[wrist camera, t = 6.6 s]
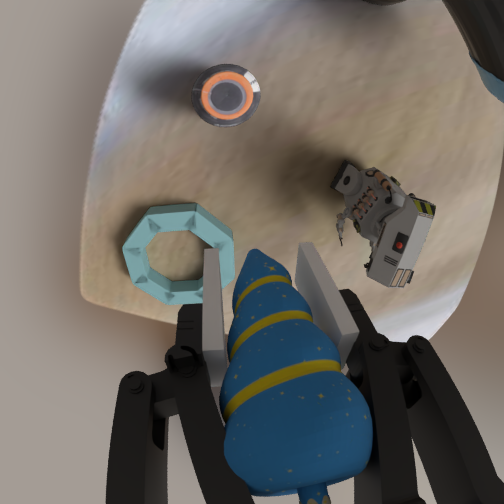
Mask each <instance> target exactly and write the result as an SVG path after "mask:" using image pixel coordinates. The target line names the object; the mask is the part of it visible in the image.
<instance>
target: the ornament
mask: <svg viewBox="0 0 504 504" xmlns="http://www.w3.org/2000/svg"><path fill="white" fill-rule="evenodd" d="M232 309H233V314H234V319H233V321H232V325H231V328H230V331H229V335H228V343H227V352H228V359H229V362H230V365H229V367H228V369H227V371H226V374H225V376H224V379H223V382H222V387H221V391H220V396H219V405H220V411H221V414H222V417H223V420H224V422H225V427H224V429H225V431H226V437H225V441H224V455H225V458H226V460H227V462H228V465H229V466H230V468H231V469H232V470H233V471H234V473H235V474H236V475H238V476H239V477H240V478H242V479H243V480H244V481H245V482H246V485H247V487H248V489H249V492H250V494H251V495H253V496H265V497H266V496H267V497H268V496H281V495H289V494H296V493H298V495H299V500H300V501H299V504H331V500H330V497H329V495H328V491H327V486H329V485H332V484H335V483H338V482H341V481H344V480H347V479H349V478H352V477H354V476H356V475H358V474H360V473H361V472H362V471H363V470H364V469H365V468H366V466H367V464H368V462H369V460H370V455H371V451H372V442H373V427H372V418H371V414H370V410H369V407H368V405H367V402H366V400H365V398H364V396H363V395H362V394H361V392H360V391H359V390H358V388H357V387H356V386H355V385H354V384H353V383H352V382H351V381H350V380H349V379H348V378H347V377H346V376H345V375H344V374H343V373H342V372H341V359H340V353H339V351H338V349H337V347H336V346H335V344H334V343H333V341H332V340H331V339H330V338H329V337H328V336H327V335H326V334H325V333H324V332H323V331H322V330H321V329H320V328H318V327H317V326H316V325H315V324H314V323H313V316H312V312H311V309H310V306H309V305H308V303H307V302H306V300H305V299H304V297H303V296H302V295H301V294H300V293H299V292H298V291H297V290H296V289H295V288H294V287H292V280H291V276H290V274H289V272H288V271H287V270H286V269H285V267H284V266H282V265H281V264H280V263H278V262H277V261H275V260H274V259H272V258H270V257H269V256H267V255H265V254H264V253H262V252H261V251H260V250H258V249H252V250H250V251H249V253H248V254H247V257H246V260H245V262H244V265H243V267H242V269H241V272H240V274H239V276H238V279H237V282H236V285H235V288H234V292H233V299H232Z"/></svg>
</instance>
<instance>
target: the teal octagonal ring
mask: <svg viewBox="0 0 504 504" xmlns="http://www.w3.org/2000/svg"><path fill="white" fill-rule="evenodd" d="M180 230H190V231H192V232H193V233H194V234H196V235H197V236H198V237H200V238H201V239H202V240H204V241H205V242H207V243H208V244H209V245H211V246H212V247H213V248H219V261H220V273H221V284H222V289H223V288H224V287H225V286H226V285H228V284H229V283H230V282H231V281H232V280H233V279H234V277H235V270H234V247H233V235H232V231H231V229H229V228H228V227H227V226H226V225H224V224H223V223H222V222H221V221H219V220H218V219H217V218H215V217H214V216H213V215H212V214H210V213H209V212H208V211H206V210H205V209H204V208H203V207H201V206H200V205H199V204H198V203H197V204H196V203H188V204H176V205H165V206H155V207H151V208H149V209H148V210H147V212H146V213H145V214H144V216H143V217H142V218H141V220H140V221H139V222H138V224H137V225H136V226H135V228H134V229H133V230H132V232H131V233H130V234H129V236H128V237H127V239H126V241H125V243H124V245H123V247H122V250H123V254H124V257H125V260H126V264H127V267H128V270H129V274H130V277H131V280H132V283H133V285H135V286H137V287H138V288H140V289H141V290H143V291H145V292H146V293H148V294H150V295H151V296H153V297H155V298H156V299H158V300H160V301H161V302H163V303H165V304H167V305H174V304H193V303H203V276H202V277H201V278H200V279H199V280H189V281H171V280H169V279H167V278H166V277H164V276H163V275H161V274H160V273H158V272H157V271H155V270H153V269H152V268H150V265H149V261H148V257H147V253H146V249H145V247H146V246H147V244H148V243H149V242H150V241H151V239H152V238H153V237H154V236H155V235H156V233H157V232H167V231H180Z"/></svg>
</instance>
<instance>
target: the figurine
mask: <svg viewBox="0 0 504 504" xmlns="http://www.w3.org/2000/svg"><path fill="white" fill-rule="evenodd" d="M400 185H401V184H400V183H399V182H398V181H397V180H396V179H395V178H394V177H392V176H391V177H388V176H387V175H385V174H384V173H382V172H381V171H379V170H378V169H376V168H375V167H373V168H369V169H365V170H362V171H360V172H359V171H358V170H357V169H356V168H355V166H354V165H353V164H352V163H350V162H349V161H347V160H345V161H344V163H343V164H342V167H341V168H340V169H339V172H338V174H337V176H336V177H335V179H334V181H333V182H332V185H331V188H333V189H335V190H337V191H339V192H341V193H343V194H344V200H345V206H346V208H345V210H344V213H343V214H342V213H339V214H337V218H338V224H336V228H337V231H338V233H339V237H340V238H339V239H340V241H341V239H342V232H343V224H344V223H345V221H344V219H345V218H346V217H347V218H349V219H351V220H353V224H354V227H355V228H356V230H357V233H359V232H360V233H359V234H360V235H361V236H362V237H364V238H366V239H368V240H370V246H371V247H372V249H371V251H372V253H371V255H370V257H369V258H370V261H369V263H367V264H368V265H367V264H366V265H365V264H364V267H365V268H367V269H366V273H367V277H369V278H371V279H373V280H375V281H377V282H379V283H381V284H383V285H385V286H386V287H388V288H404V287H405V285H406V283H409V284H410V281H411V279H412V276H413V273H414V271H412V270H413V268H414V265H415V263H416V261H417V259H418V256H419V254H420V252H421V249H422V247H423V244H424V242H425V239H426V237H427V234H428V232H429V229H430V226H431V224H432V221H433V218H434V215H435V209H436V205H434V204H432V203H430V202H428V201H425V200H422V199H419V198H416V197H415V195H414V194H413V193H410V194H409V195H406V194H405V192H404V191H403V190H402V189H401V188H400V187H399V186H400ZM341 246H342V241H341Z"/></svg>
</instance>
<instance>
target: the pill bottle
mask: <svg viewBox="0 0 504 504" xmlns="http://www.w3.org/2000/svg"><path fill="white" fill-rule="evenodd" d="M259 101H260V89H259V85H258V83H257V81H256V79H255V78H254V76H253V75H252V74H251V73H250V72H249V71H248V70H246V69H244V68H242V67H240V66H237V65H233V64H221V65H217V66H213V67H211V68H209V69H207V70H206V71H204V72H203V73H202V74H201V75H200V76H199V77H198V79H197V80H196V82H195V84H194V86H193V89H192V103H193V107H194V109H195V111H196V113H197V114H198V115H199V116H200V117H201V118H202V119H203V120H204V121H206V122H207V123H209V124H212V125H214V126H218V127H232V126H236V125H239V124H241V123H243V122H245V121H246V120H248V119H249V118H250V117H251V116H252V115H253V114H254V112H255V111H256V109H257V107H258V105H259Z"/></svg>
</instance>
